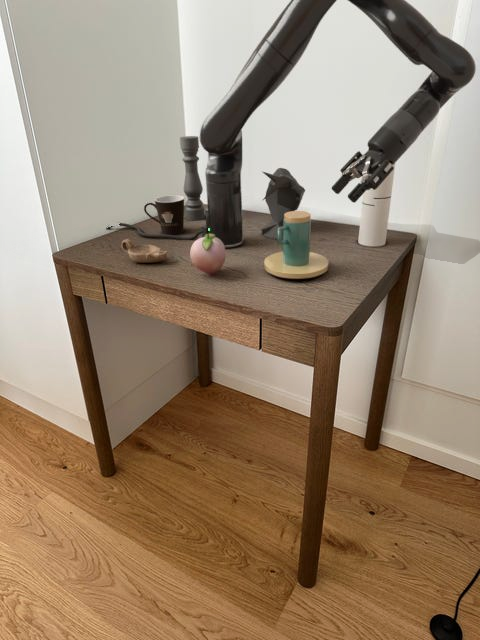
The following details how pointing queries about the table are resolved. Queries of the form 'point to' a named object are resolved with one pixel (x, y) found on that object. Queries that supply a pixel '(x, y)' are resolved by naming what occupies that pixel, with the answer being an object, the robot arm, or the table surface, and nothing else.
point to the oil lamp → (143, 252)
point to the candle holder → (192, 178)
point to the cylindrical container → (376, 213)
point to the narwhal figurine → (281, 199)
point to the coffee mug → (169, 213)
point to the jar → (295, 250)
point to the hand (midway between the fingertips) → (342, 195)
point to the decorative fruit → (208, 253)
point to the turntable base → (295, 279)
